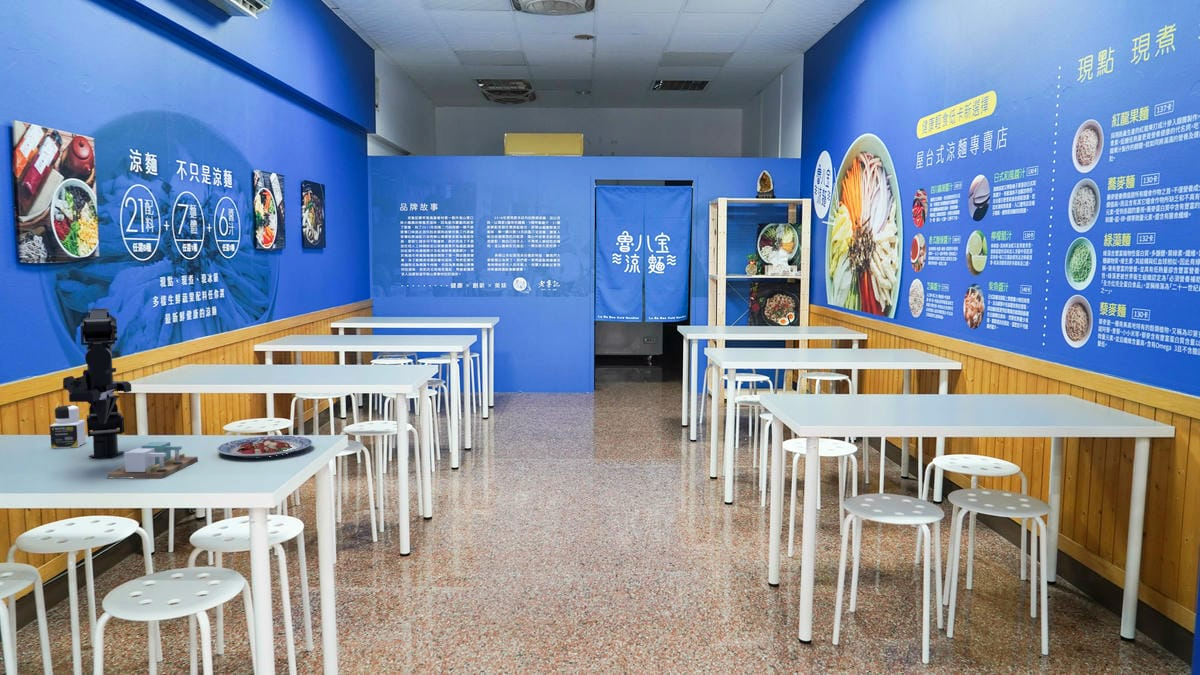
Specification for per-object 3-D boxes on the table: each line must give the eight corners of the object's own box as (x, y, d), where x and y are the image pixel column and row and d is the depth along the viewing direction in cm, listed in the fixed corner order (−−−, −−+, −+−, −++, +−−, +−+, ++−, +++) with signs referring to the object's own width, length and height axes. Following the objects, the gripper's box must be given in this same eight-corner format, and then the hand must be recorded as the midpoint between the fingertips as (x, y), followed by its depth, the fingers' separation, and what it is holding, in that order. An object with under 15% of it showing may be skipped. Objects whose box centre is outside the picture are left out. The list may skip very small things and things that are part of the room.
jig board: (147, 460, 236) (147, 452, 236) (197, 460, 236) (197, 453, 236) (107, 478, 217) (106, 469, 217) (161, 478, 217) (161, 469, 217)
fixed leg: (136, 467, 222) (135, 448, 222) (170, 467, 222) (169, 448, 222) (125, 472, 217) (124, 452, 217) (160, 472, 217) (159, 452, 217)
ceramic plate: (200, 453, 246) (200, 443, 246) (284, 439, 266) (283, 429, 265) (244, 467, 229) (243, 456, 229) (329, 451, 249) (329, 441, 249)
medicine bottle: (50, 449, 251) (48, 408, 250) (60, 443, 258) (57, 404, 257) (77, 447, 253) (75, 407, 252) (86, 442, 260) (84, 403, 258)
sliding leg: (152, 460, 230) (151, 441, 230) (185, 460, 230) (184, 442, 230) (142, 464, 225) (141, 445, 225) (176, 464, 225) (175, 446, 225)
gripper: (91, 361, 235) (94, 417, 236) (46, 369, 216) (49, 430, 218) (131, 361, 235) (133, 417, 236) (89, 369, 216) (93, 430, 218)
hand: (102, 423), depth 227 cm, fingers closed
